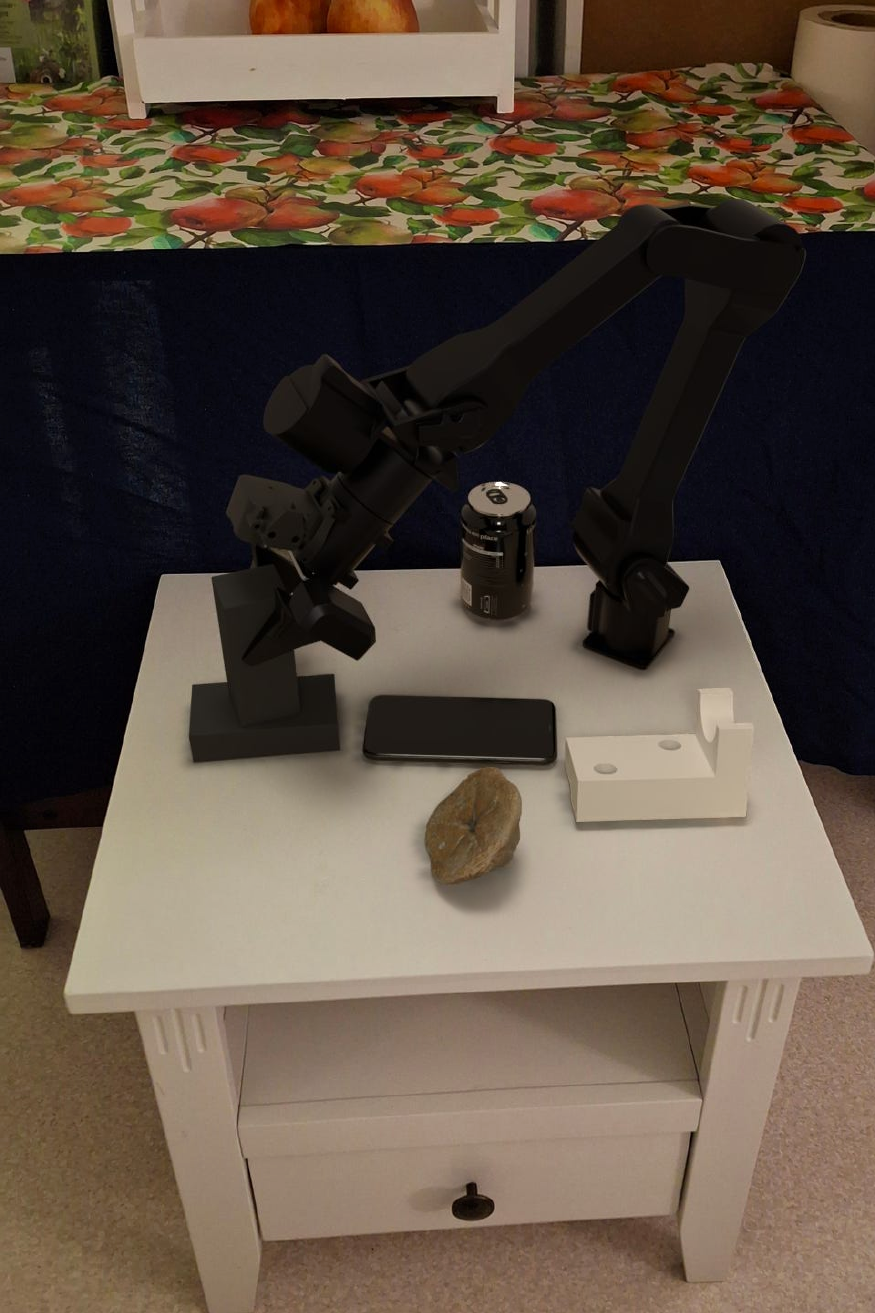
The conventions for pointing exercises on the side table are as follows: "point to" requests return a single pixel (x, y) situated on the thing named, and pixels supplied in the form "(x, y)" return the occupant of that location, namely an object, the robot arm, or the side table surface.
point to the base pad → (263, 724)
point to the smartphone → (461, 730)
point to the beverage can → (497, 551)
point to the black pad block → (240, 619)
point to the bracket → (665, 769)
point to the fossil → (474, 827)
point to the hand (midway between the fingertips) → (239, 644)
